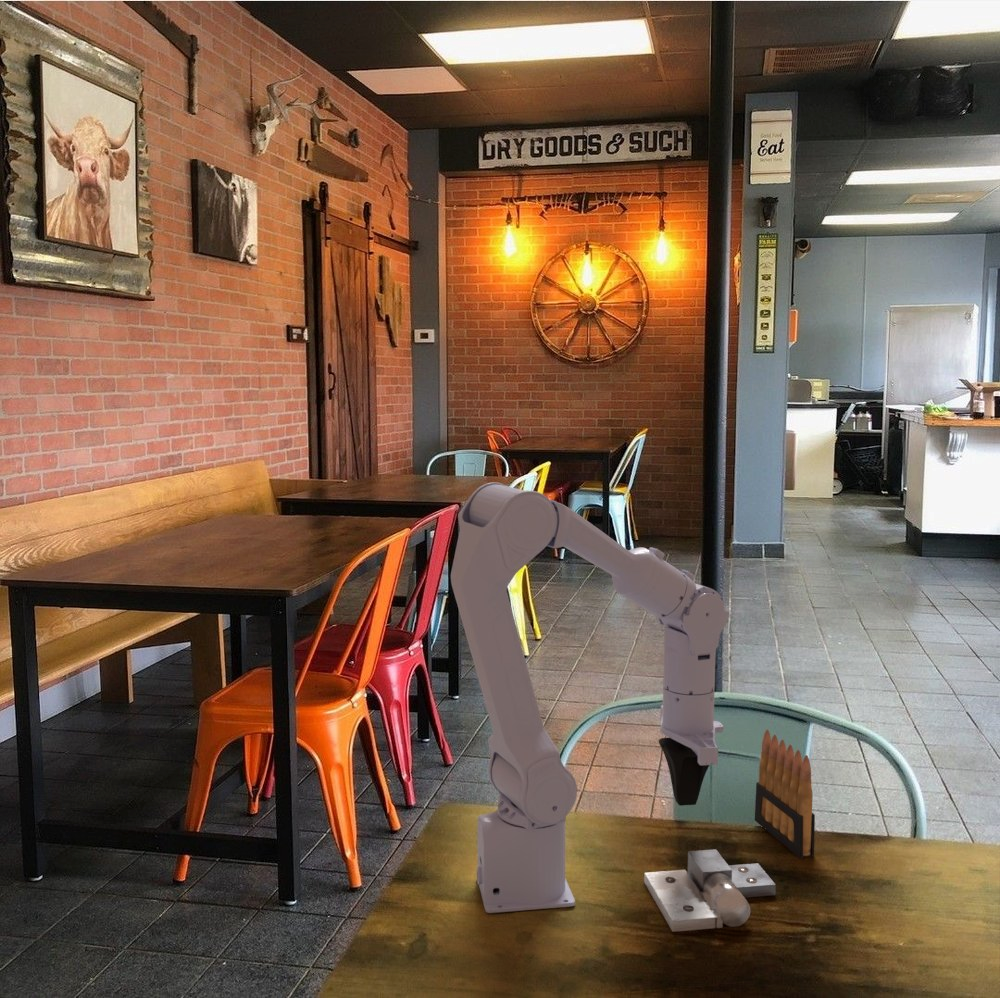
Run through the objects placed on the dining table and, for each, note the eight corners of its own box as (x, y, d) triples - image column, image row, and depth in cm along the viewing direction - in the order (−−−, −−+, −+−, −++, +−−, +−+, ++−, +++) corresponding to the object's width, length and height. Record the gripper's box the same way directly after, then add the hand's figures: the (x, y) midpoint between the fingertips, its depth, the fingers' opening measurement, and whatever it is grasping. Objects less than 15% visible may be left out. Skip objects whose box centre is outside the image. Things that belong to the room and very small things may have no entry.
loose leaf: (702, 901, 108) (702, 872, 107) (687, 879, 112) (688, 851, 112) (775, 895, 109) (776, 866, 109) (757, 873, 114) (758, 846, 113)
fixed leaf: (672, 932, 102) (673, 901, 102) (644, 883, 112) (644, 855, 111) (750, 925, 103) (750, 895, 103) (715, 877, 113) (715, 850, 113)
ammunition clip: (814, 857, 118) (818, 757, 116) (800, 859, 117) (803, 759, 116) (767, 818, 128) (770, 726, 126) (754, 820, 127) (756, 727, 126)
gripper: (746, 706, 109) (742, 828, 111) (701, 668, 123) (698, 776, 125) (683, 709, 108) (679, 831, 110) (644, 670, 122) (642, 779, 124)
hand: (685, 802), depth 117 cm, fingers closed
